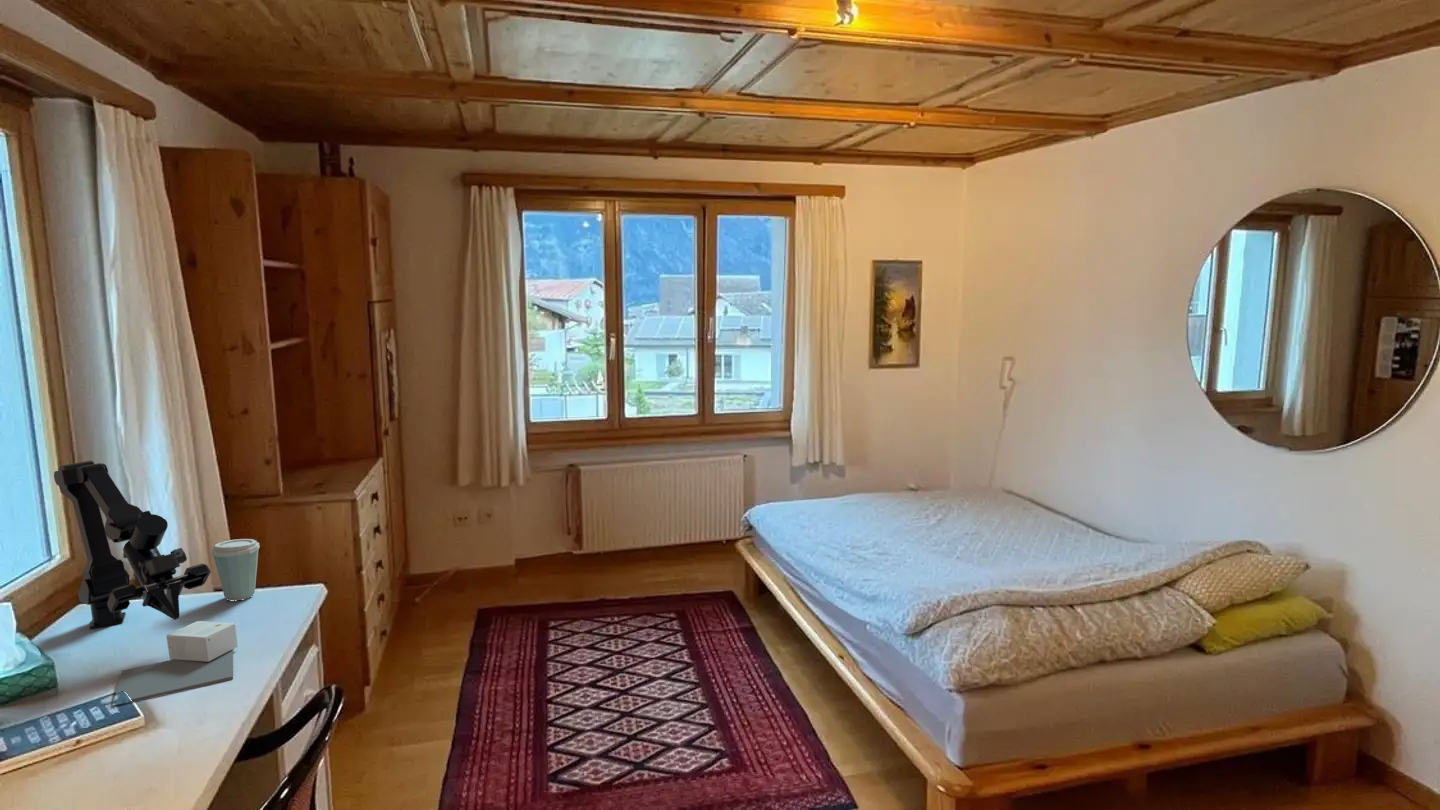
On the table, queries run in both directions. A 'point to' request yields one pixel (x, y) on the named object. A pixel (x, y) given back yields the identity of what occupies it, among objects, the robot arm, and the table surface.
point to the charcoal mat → (174, 676)
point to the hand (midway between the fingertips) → (177, 618)
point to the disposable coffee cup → (237, 567)
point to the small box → (202, 641)
